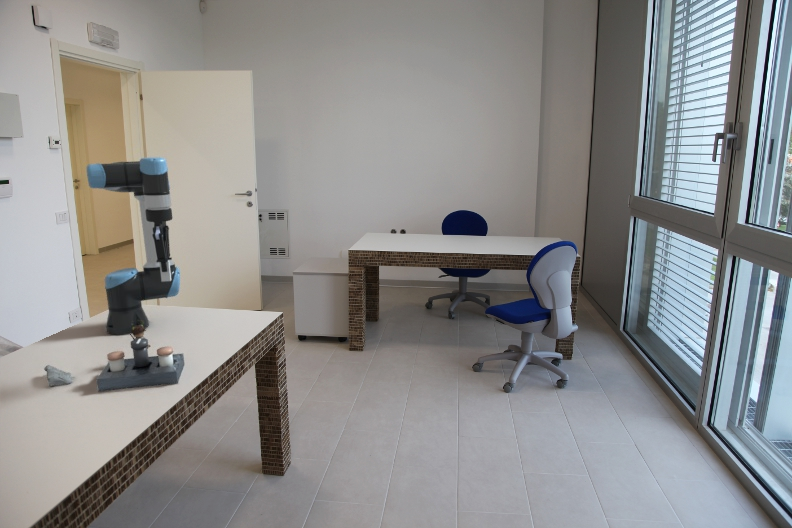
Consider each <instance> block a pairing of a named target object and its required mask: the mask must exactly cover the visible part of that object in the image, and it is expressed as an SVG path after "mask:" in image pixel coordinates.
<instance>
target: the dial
mask: <svg viewBox="0 0 792 528" xmlns="http://www.w3.org/2000/svg"><path fill="white" fill-rule="evenodd" d="M134 339H135V338H134ZM134 339H132V340H131V341H130V343H129V344H130V348H131V349H132V354H133V358H134V362H135V366H136V367H143V366H146V365H148V364H149V358H148V357H149V352H148V349H147V346H148V345H149V339H147V338H146V337H145V338H141V339H135V340H134Z"/></svg>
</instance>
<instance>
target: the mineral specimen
mask: <svg viewBox="0 0 792 528" xmlns="http://www.w3.org/2000/svg"><path fill="white" fill-rule="evenodd" d="M43 370H44V371H45V373H46V378H47V379H46V380H47V382H48V386H49V387H53V386H65V385H66V386H67V385H69V384H71V383H73V377H71V375H72V373H70V372H66V371H64V370H61V369H59V368H57V367H55V366H52V365H50V364H47V365H46V366H44V367H43Z"/></svg>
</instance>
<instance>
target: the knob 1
mask: <svg viewBox="0 0 792 528" xmlns="http://www.w3.org/2000/svg"><path fill="white" fill-rule="evenodd" d="M106 356H107V360H108V362H109V364H110V371H111V372H115V371H125V363H124V359H125V352H124V351H123V350H117V351H112V352H109V353H108V354H106Z"/></svg>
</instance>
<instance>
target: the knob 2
mask: <svg viewBox="0 0 792 528" xmlns="http://www.w3.org/2000/svg"><path fill="white" fill-rule="evenodd" d="M173 353H174V348H173V347H172V346H162V347H158V348H157V349H156V356H158V357H159V365H160V367H166V366H174V364H173V356H172V355H173Z"/></svg>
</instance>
